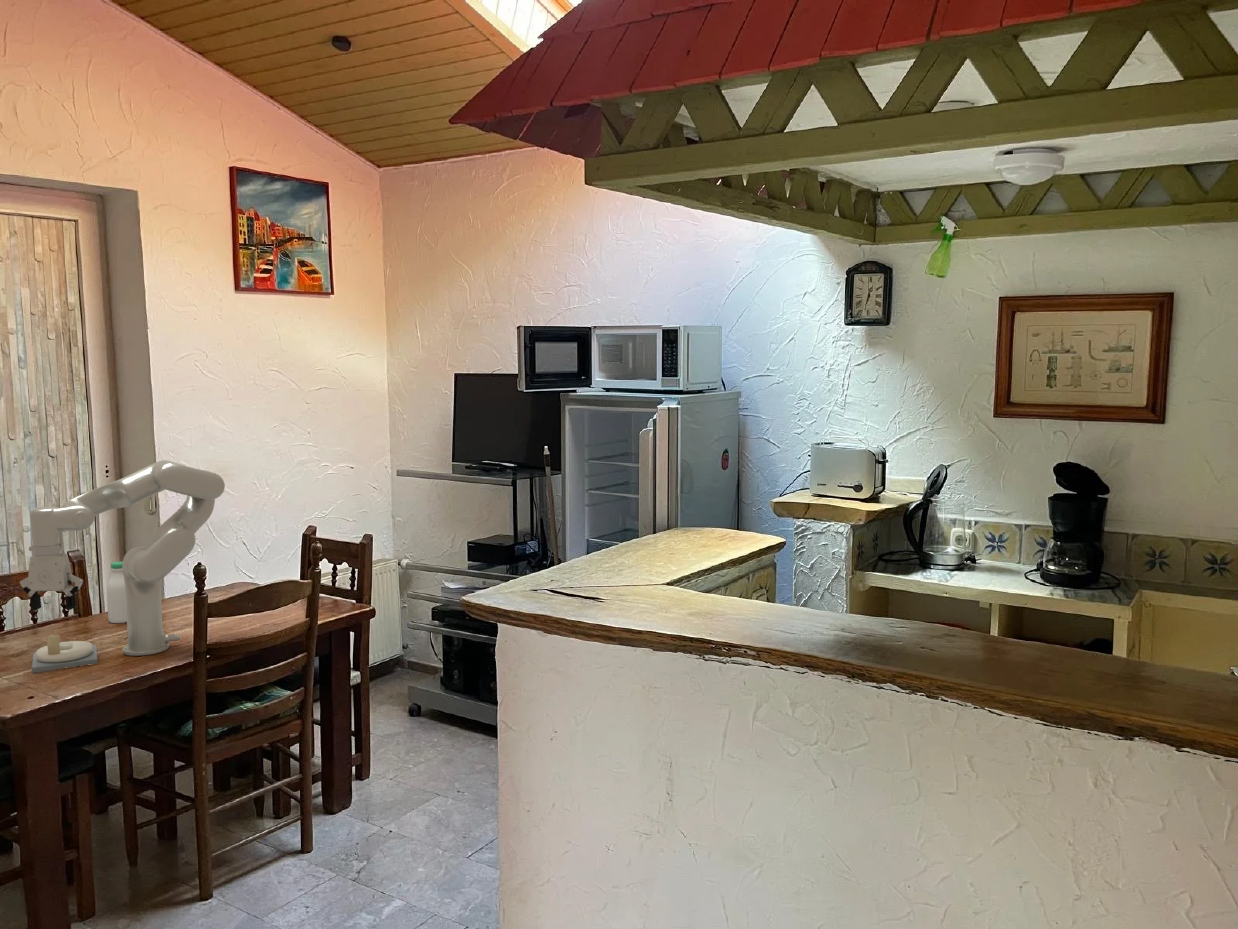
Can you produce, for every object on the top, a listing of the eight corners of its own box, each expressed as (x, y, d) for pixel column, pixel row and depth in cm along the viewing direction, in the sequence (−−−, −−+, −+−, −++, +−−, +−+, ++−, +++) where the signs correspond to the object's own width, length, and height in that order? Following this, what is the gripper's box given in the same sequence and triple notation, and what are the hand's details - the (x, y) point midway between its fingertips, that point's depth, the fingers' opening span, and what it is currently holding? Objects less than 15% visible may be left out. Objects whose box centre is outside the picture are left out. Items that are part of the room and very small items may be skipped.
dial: (27, 657, 265) (25, 633, 265) (76, 644, 277) (74, 622, 277) (53, 665, 258) (52, 641, 258) (102, 652, 270) (101, 629, 270)
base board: (96, 649, 279) (96, 644, 279) (97, 664, 265) (97, 659, 265) (34, 657, 271) (33, 652, 271) (32, 673, 257) (31, 667, 257)
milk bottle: (120, 624, 306) (117, 565, 303) (103, 622, 308) (100, 564, 306) (139, 618, 313) (136, 561, 311) (122, 616, 315) (119, 559, 313)
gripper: (9, 553, 256) (14, 613, 258) (71, 552, 256) (76, 612, 258) (26, 547, 263) (31, 606, 265) (87, 547, 263) (91, 605, 265)
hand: (53, 609), depth 262 cm, fingers open, 9 cm apart
